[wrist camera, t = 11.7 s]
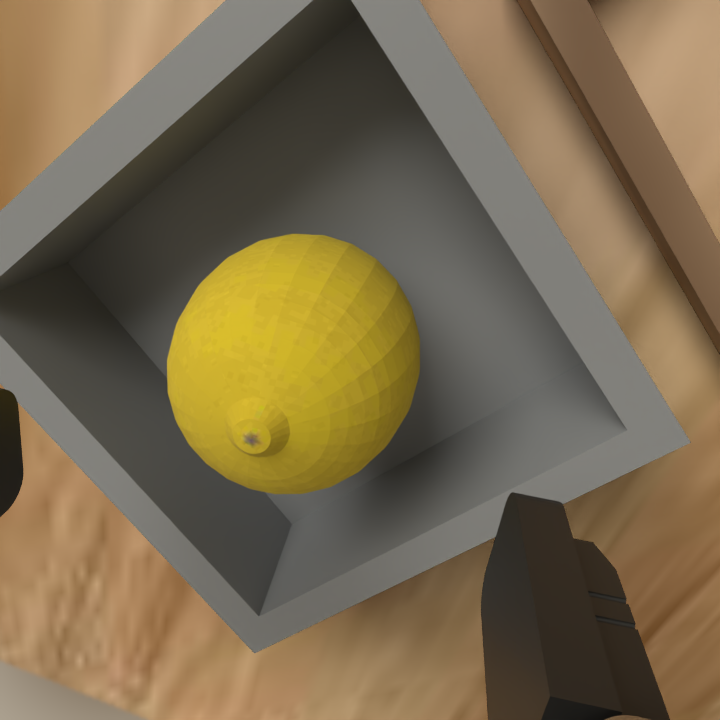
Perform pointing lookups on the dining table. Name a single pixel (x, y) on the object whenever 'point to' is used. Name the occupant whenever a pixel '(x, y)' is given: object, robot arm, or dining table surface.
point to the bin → (343, 222)
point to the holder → (633, 148)
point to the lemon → (293, 364)
